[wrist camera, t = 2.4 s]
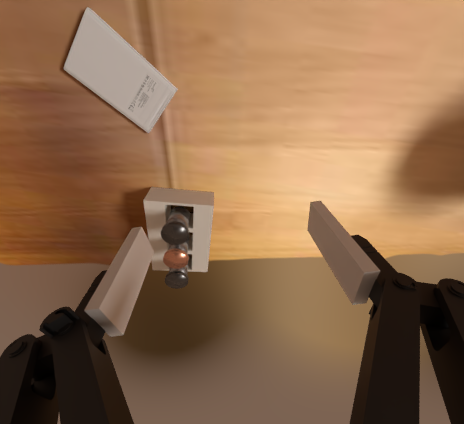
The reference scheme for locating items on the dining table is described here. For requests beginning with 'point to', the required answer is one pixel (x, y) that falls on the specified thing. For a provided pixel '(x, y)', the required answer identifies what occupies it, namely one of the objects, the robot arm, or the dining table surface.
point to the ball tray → (199, 224)
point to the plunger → (177, 277)
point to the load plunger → (177, 255)
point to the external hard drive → (118, 72)
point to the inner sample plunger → (176, 226)
